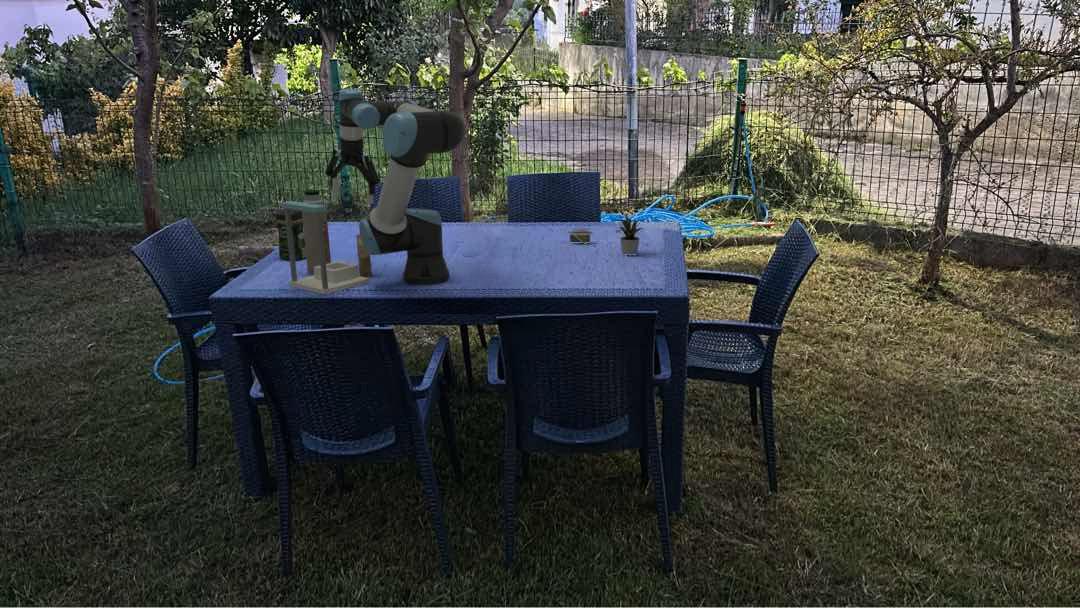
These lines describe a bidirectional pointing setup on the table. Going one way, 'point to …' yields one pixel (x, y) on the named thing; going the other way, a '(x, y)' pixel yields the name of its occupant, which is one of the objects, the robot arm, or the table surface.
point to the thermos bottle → (314, 233)
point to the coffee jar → (297, 234)
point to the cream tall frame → (325, 275)
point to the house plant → (629, 235)
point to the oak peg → (363, 259)
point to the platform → (580, 235)
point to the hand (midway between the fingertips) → (353, 200)
